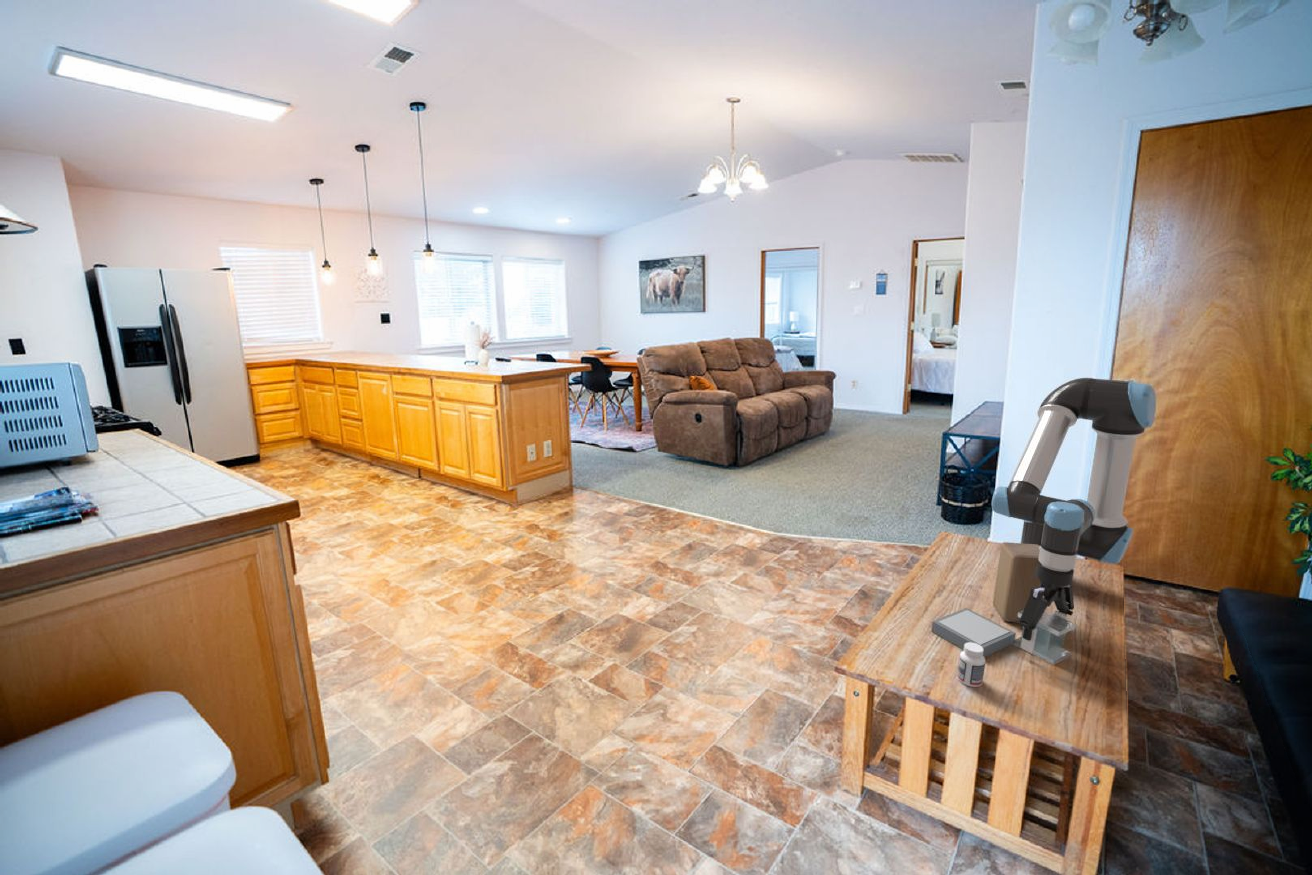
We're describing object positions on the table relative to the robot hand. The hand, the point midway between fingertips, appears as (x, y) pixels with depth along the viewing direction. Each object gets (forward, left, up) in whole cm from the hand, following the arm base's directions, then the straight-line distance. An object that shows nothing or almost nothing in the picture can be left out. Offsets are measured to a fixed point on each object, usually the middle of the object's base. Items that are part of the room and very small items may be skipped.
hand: (1042, 642), depth 150 cm
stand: (+10, -12, -2) cm, 16 cm away
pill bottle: (+27, -1, -2) cm, 27 cm away
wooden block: (-11, -13, -2) cm, 17 cm away
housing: (0, 0, -2) cm, 2 cm away
